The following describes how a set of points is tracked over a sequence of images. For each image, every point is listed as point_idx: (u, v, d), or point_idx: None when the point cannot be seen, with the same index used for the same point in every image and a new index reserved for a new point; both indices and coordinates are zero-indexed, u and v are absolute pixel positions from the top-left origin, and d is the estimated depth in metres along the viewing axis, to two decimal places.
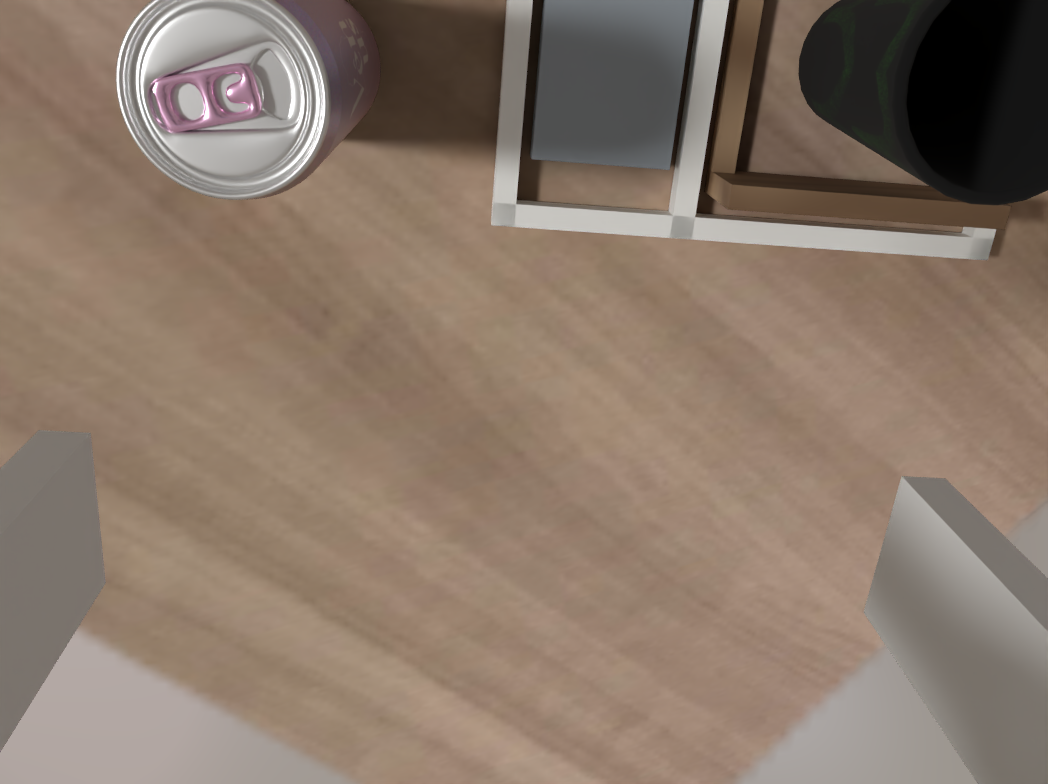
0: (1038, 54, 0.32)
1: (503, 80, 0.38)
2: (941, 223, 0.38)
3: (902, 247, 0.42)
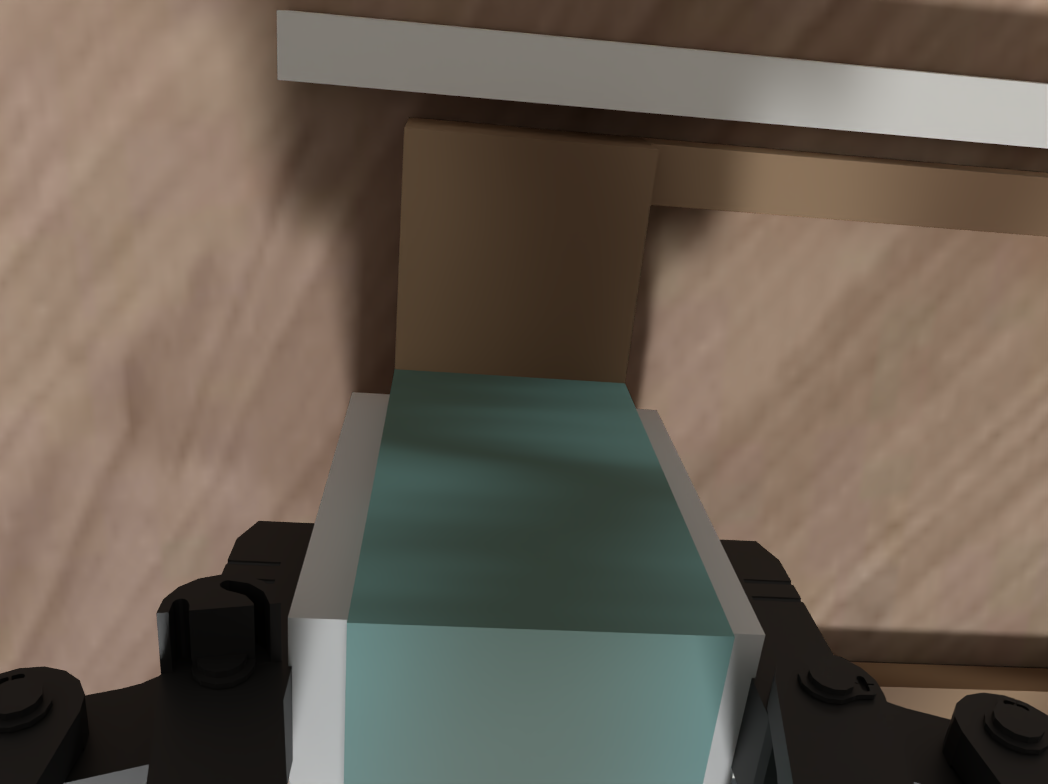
0: None
1: None
2: None
3: None
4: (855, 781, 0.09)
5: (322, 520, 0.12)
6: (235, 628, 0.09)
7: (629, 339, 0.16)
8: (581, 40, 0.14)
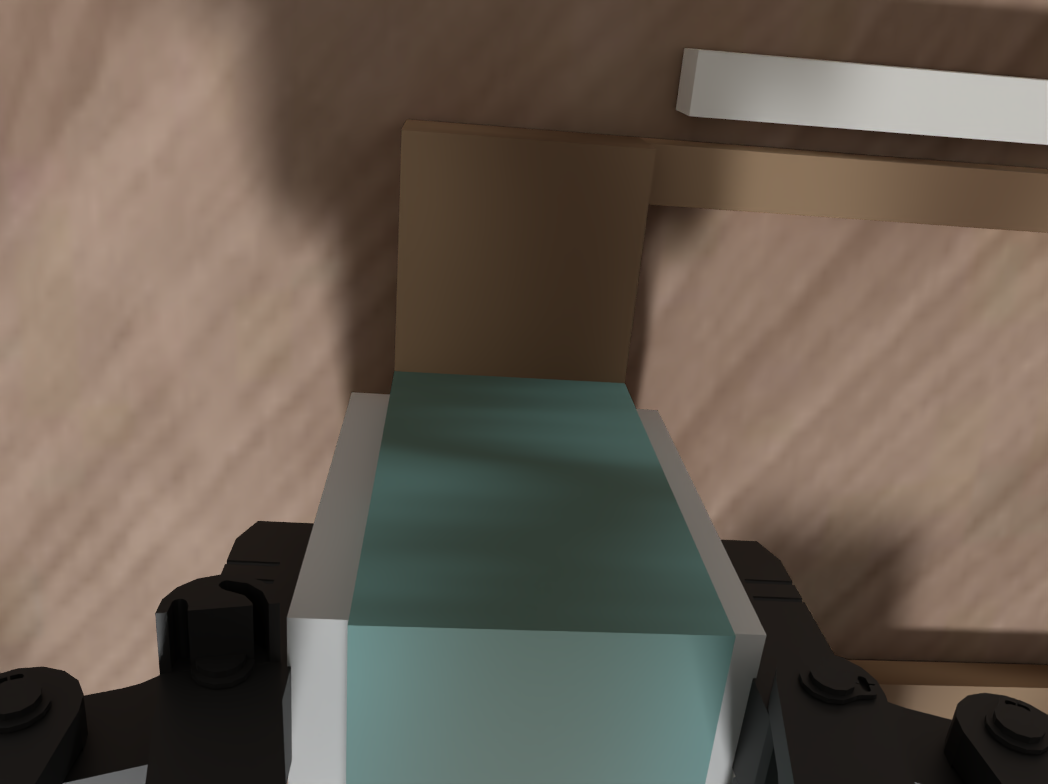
0: None
1: None
2: None
3: None
4: (856, 781, 0.09)
5: (320, 520, 0.12)
6: (234, 628, 0.09)
7: (628, 339, 0.16)
8: (979, 75, 0.15)
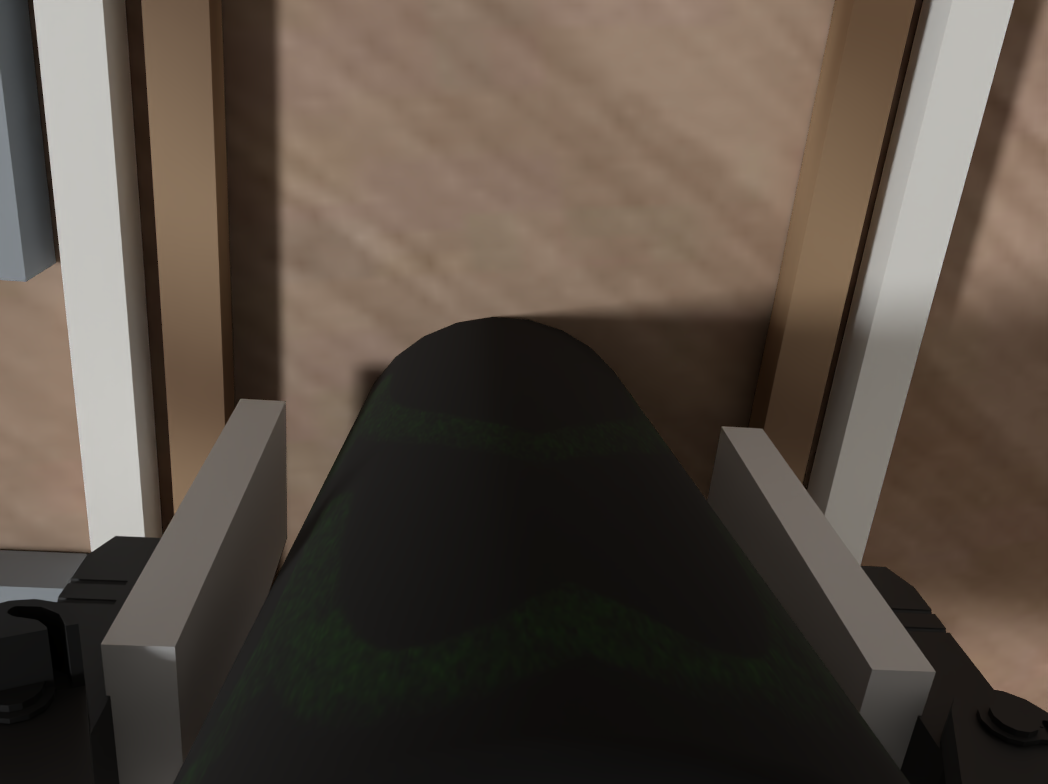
0: None
1: None
2: None
3: None
4: None
5: (169, 537, 0.11)
6: (28, 656, 0.09)
7: None
8: None
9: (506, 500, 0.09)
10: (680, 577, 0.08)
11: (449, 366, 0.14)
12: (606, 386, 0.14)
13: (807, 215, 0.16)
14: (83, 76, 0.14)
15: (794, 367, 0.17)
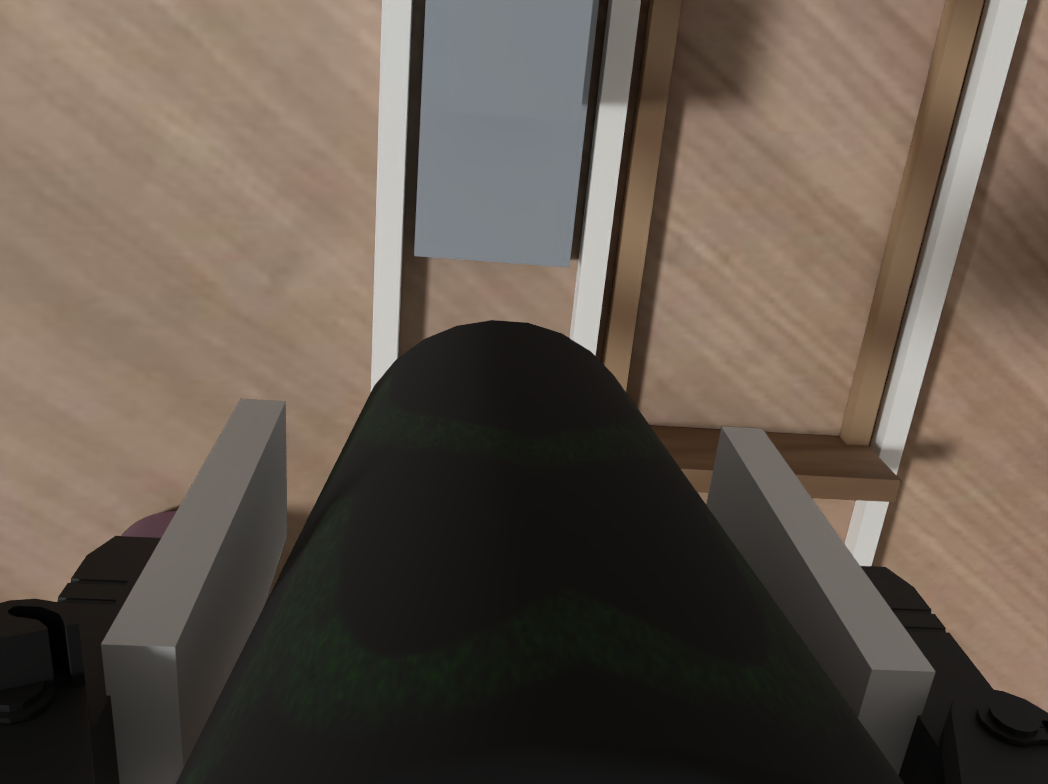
0: None
1: None
2: (828, 497, 0.37)
3: None
4: None
5: (169, 536, 0.11)
6: (29, 656, 0.09)
7: None
8: (1005, 77, 0.34)
9: (505, 506, 0.09)
10: (679, 583, 0.08)
11: (448, 370, 0.14)
12: (605, 390, 0.15)
13: (897, 239, 0.36)
14: (607, 183, 0.34)
15: (888, 306, 0.37)
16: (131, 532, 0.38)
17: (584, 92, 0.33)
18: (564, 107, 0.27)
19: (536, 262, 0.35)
